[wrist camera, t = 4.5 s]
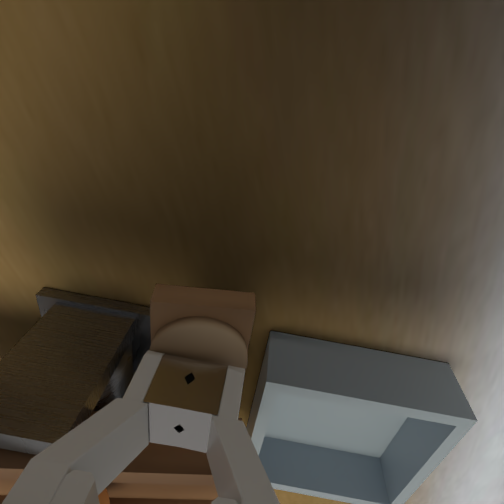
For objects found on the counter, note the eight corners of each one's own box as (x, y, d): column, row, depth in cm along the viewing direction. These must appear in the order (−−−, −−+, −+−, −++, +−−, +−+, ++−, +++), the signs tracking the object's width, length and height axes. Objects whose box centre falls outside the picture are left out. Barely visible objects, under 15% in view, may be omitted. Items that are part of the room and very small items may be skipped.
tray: (270, 330, 16) (266, 381, 14) (448, 363, 16) (477, 420, 14) (245, 430, 21) (239, 482, 19) (384, 456, 21) (396, 511, 18)
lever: (-332, 235, 9) (-571, 316, 6) (270, 292, 10) (281, 372, 8) (-116, 474, 15) (-186, 560, 13) (226, 484, 17) (224, 561, 15)
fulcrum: (43, 287, 17) (-91, 413, 11) (160, 308, 16) (89, 447, 11) (70, 398, 21) (-13, 526, 16) (160, 415, 21) (111, 550, 15)
